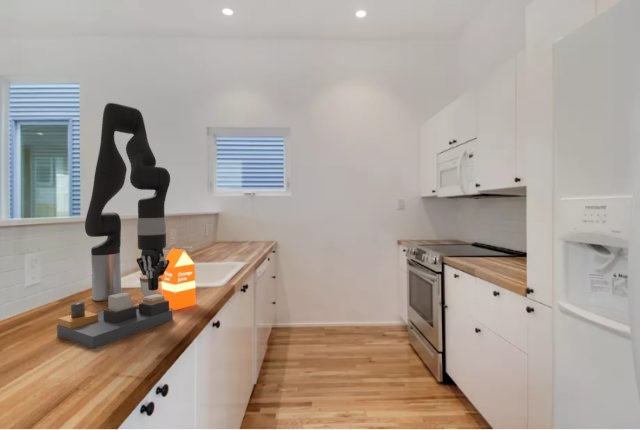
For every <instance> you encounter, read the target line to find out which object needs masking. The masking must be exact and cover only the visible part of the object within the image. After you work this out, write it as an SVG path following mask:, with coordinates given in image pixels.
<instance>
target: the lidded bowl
mask: <svg viewBox="0 0 640 430" xmlns="http://www.w3.org/2000/svg"><path fill="white" fill-rule="evenodd" d="M139 281H140V283H139V285H140V291H141V293H142V295H143V297H147V296H150V295H154V294H159V295H162V276H159V277H158V289H157V290H154V291H151V290H149V289H148V278H147V277H146V275H143V274H142V275H141V276H139Z"/></svg>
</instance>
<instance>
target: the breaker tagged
mask: <svg viewBox="0 0 640 430" xmlns="http://www.w3.org/2000/svg"><path fill="white" fill-rule="evenodd" d="M164 300H165V297H164V295H159V294H154V295H150V296H147V297H145V296H143V299H142V302H144V304H148V305H154V304H158V303H161V302H164Z"/></svg>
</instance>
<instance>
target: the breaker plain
mask: <svg viewBox="0 0 640 430" xmlns="http://www.w3.org/2000/svg"><path fill="white" fill-rule="evenodd" d="M107 301H108V302H107V303H108V308H109V310H110V311H114V312H118V311H121V310H125V309H128V308H131V304H132V294H131V293H127V292H121V293H118V294H114V295H110V296H108V300H107Z"/></svg>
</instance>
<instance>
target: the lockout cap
mask: <svg viewBox="0 0 640 430" xmlns="http://www.w3.org/2000/svg"><path fill="white" fill-rule="evenodd" d="M85 307H86V305H85V301H79V302H74V303H71V304H70V315H65V316H62V317H58V318H57V325H60V326H63V327H66V328H69V329H72V328H75V327H78V326H82V325H85V324H88V323H92V322H95V321H98V313H94V312H91V311H87V310H86V309H85Z"/></svg>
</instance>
